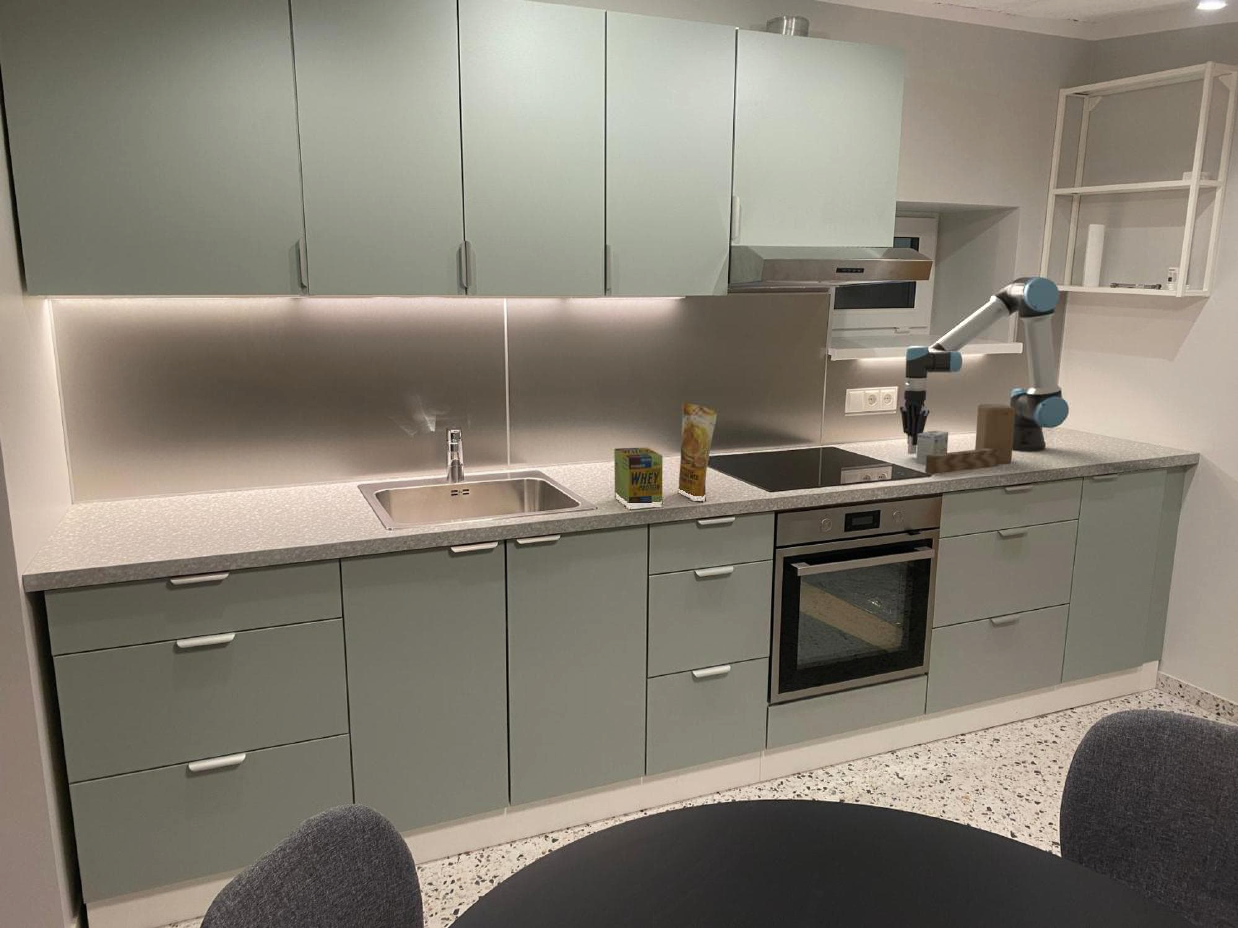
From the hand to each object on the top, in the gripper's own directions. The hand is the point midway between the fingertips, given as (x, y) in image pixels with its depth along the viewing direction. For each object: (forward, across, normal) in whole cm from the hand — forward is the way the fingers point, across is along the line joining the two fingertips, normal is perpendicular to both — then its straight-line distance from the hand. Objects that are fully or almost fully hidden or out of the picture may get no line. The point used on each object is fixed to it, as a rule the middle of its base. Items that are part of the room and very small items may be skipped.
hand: (911, 453), depth 338 cm
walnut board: (+1, +24, 0) cm, 24 cm away
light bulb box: (+2, +10, 0) cm, 10 cm away
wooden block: (+2, +19, +20) cm, 28 cm away
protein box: (+2, +17, -120) cm, 121 cm away
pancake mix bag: (+2, +17, -101) cm, 102 cm away
